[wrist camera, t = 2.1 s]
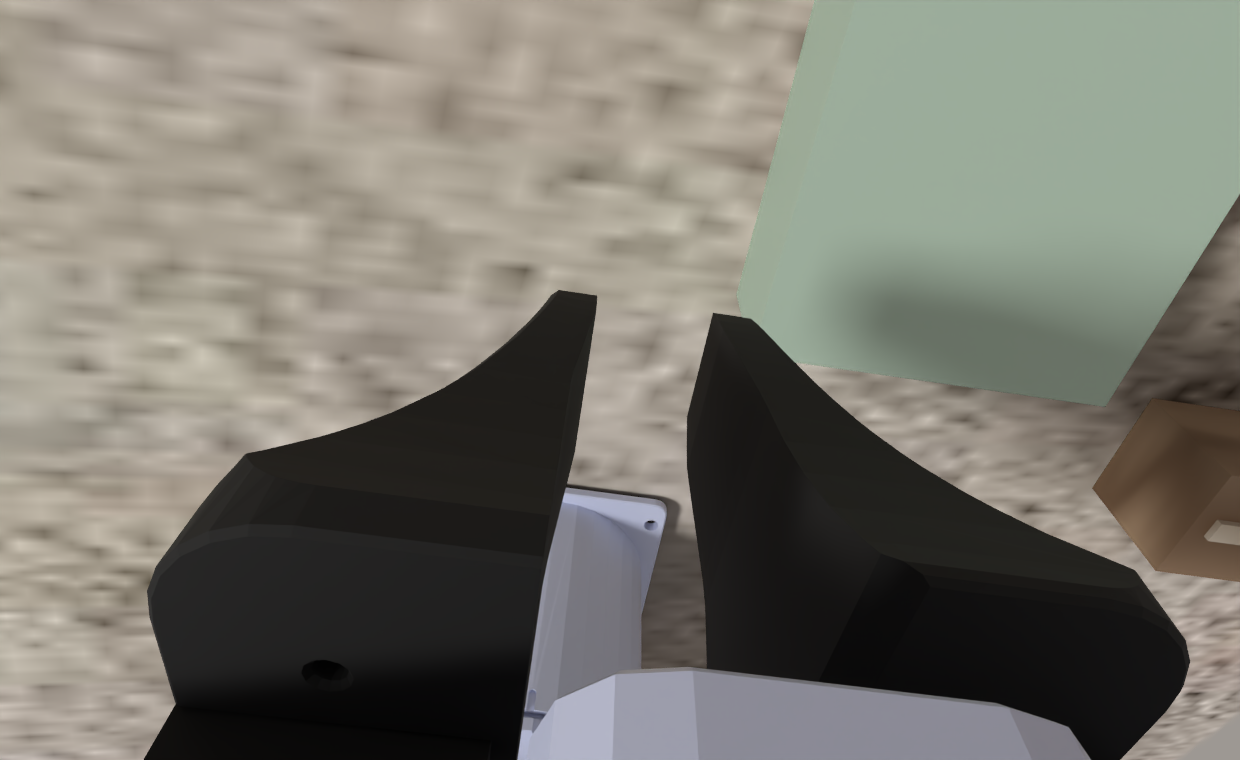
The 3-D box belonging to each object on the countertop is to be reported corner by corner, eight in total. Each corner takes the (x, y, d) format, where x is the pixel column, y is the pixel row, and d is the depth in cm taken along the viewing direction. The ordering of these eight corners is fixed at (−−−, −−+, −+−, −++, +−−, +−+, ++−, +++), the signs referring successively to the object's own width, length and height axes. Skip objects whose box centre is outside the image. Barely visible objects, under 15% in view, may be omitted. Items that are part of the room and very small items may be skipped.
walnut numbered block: (1194, 500, 27) (1278, 591, 23) (1091, 486, 27) (1159, 575, 23) (1263, 413, 25) (1366, 498, 21) (1150, 397, 24) (1236, 480, 21)
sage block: (1039, 335, 24) (1104, 406, 20) (735, 289, 23) (751, 356, 20) (1225, -12, 18) (1357, 8, 15) (833, -84, 18) (878, -80, 14)
